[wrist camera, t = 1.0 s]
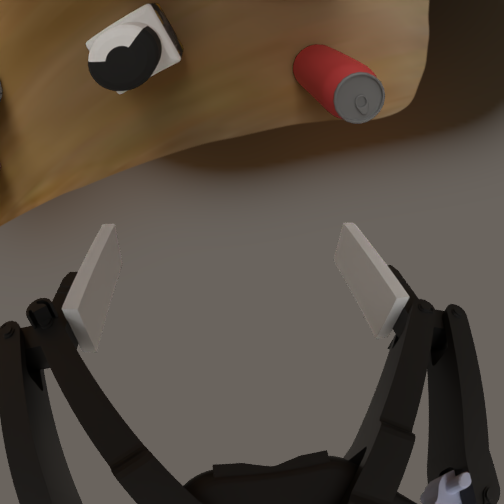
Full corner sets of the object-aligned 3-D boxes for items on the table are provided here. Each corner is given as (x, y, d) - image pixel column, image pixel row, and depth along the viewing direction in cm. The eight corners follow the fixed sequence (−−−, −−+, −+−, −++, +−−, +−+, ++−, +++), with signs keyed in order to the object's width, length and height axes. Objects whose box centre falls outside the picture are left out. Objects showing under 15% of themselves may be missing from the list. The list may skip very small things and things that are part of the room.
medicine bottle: (184, 49, 27) (180, 72, 20) (131, 78, 29) (106, 114, 21) (157, 2, 22) (139, 2, 14) (103, 34, 23) (64, 53, 16)
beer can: (304, 97, 35) (341, 138, 27) (282, 55, 30) (318, 83, 22) (346, 78, 33) (395, 114, 25) (329, 36, 28) (380, 58, 21)
